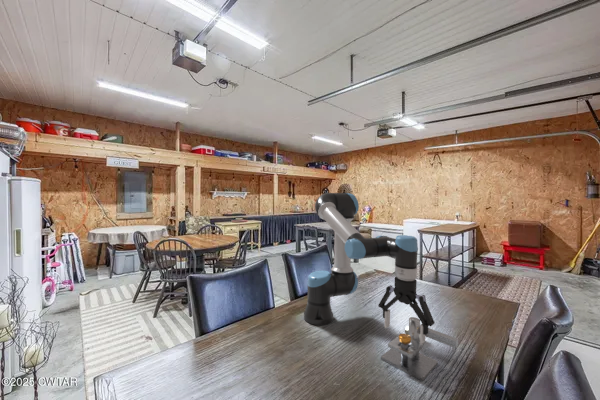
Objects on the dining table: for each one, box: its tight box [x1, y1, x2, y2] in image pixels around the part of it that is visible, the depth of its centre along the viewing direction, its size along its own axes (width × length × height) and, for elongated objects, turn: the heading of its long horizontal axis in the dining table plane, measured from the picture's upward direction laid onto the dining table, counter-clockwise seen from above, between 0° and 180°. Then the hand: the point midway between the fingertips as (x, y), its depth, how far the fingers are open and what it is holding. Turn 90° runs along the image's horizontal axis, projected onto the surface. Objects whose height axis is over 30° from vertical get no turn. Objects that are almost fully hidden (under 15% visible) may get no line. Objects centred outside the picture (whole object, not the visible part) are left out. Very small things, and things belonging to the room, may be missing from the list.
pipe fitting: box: [404, 325, 409, 335], centre depth 115 cm, size 8×4×7 cm
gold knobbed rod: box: [398, 333, 411, 367], centre depth 96 cm, size 4×4×10 cm
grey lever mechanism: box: [380, 316, 459, 382], centre depth 96 cm, size 23×15×15 cm, turn 42°
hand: (403, 334), depth 96 cm, fingers open, 13 cm apart
